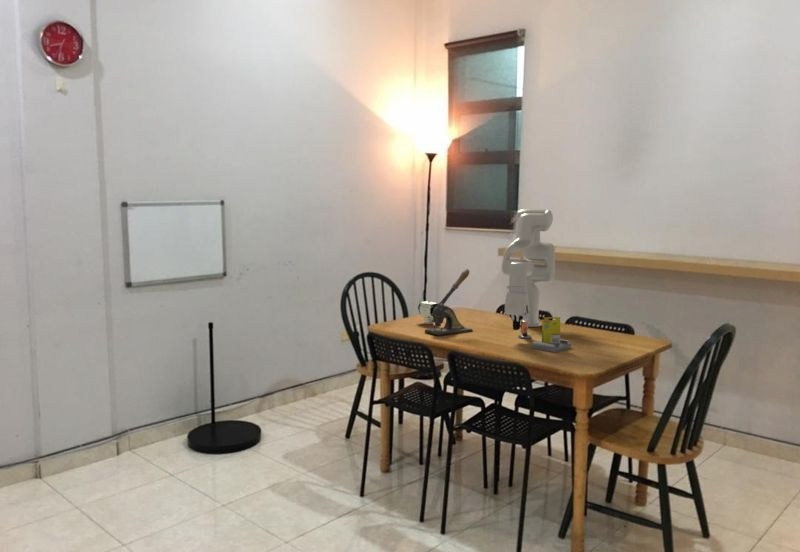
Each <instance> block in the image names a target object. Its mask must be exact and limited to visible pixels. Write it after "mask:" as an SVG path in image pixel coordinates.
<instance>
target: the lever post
mask: <svg viewBox="0 0 800 552" xmlns="http://www.w3.org/2000/svg"><path fill="white" fill-rule="evenodd" d="M517 337H518V338H519V339H525V340H528V339H529V340H530V339H532V335H531V334H528V333H527V334H523V333H521V334H518V335H517Z"/></svg>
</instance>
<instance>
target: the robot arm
mask: <svg viewBox="0 0 800 552" xmlns="http://www.w3.org/2000/svg"><path fill="white" fill-rule="evenodd" d="M516 219H517V226H516V234H515V239H514V241H512V242H511V243H510V244H509V245H508V246H507V247H506V248H505V250H504V252H503V254H502V255H503V256H502V262H501V272H502V274H503V275H505V276H509V277H508V278H509V279H508V285H507V286H506V289H508V291H507V292H506V295H505V301H504V312H505V315H506V316H508V317H510V319H511V321H512V330H513V331H518V330H521V325H520V321H521V320H529V321H530V326H528V328H537V327H541V326H542V322H541V321H539V313H540V311H539V310H540V309H539V308H540V289H539V287H538V285H537V284H536V283H538V284H539V283H540V284H550V283H552V282H553V281H554V280H555V274H556V248H555V245H554V244H553V243H551V242H541V232H547V231H549V229H550V227H551V226H552V223H553V220H554V216H553V212H552V211H551V210H550V209H542V208H539V209H535V208H534V209H533V208H527V209H526V208H525V209H524V208H523V209H520V210H518V211H517V212H516ZM519 252H522V259H514V258H513V259H511V258H512V256H513V255H515V254H517V253H519ZM534 262H543V263H534Z"/></svg>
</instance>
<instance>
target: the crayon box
mask: <svg viewBox="0 0 800 552" xmlns="http://www.w3.org/2000/svg"><path fill="white" fill-rule="evenodd" d="M551 319H552V320H551ZM541 321H542V322H541V326H542V328H541V329H542V331H541V333H542V334H541V341H542V342H544V343H549V344H560V339H561V317H560V316H555V317H554V316H552V317H551V316H548V317H546V316H544V317H543V320H541Z"/></svg>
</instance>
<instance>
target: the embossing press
mask: <svg viewBox="0 0 800 552" xmlns="http://www.w3.org/2000/svg"><path fill="white" fill-rule="evenodd" d="M469 275H470V270H469V269H468V268H466V269H465V270H464V271H462V272H461V273H460V275H459V277H458V278H457V279H456V281H455V282H454V283H453V284H452V287H450V289H449V291H448V292H447V294H446V295H444V297H443V298H442V299H441V301H440V302H437V303H438V305H437V306H436V307H435V308H434V309H433V316H432V317H433V324H434V325H433V328H426V329H425V330H424V333H425V334H429V335H435V336H444V335H454V334H460V333H461V334H462V333H470V332H474V330H473V329H472V328H470V327H465V326H464V325H463V324H461V322H460V321H459V320H458V318H457V315H456V313H455V311H454V309H452V308H451V307H449V306H447V305H445V303H446V302H447V301H448V300H449V298H450V296H452V295H453V293H454V292H455V291H456V290H457V289H459V286H460V285H461V284H462V283H463V282H464V281H465V280H466V279H467V278H468V277H469ZM444 319H445V325H444V326H443V327H441V326H442V324H443V323H444ZM436 327H437V328H436Z"/></svg>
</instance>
